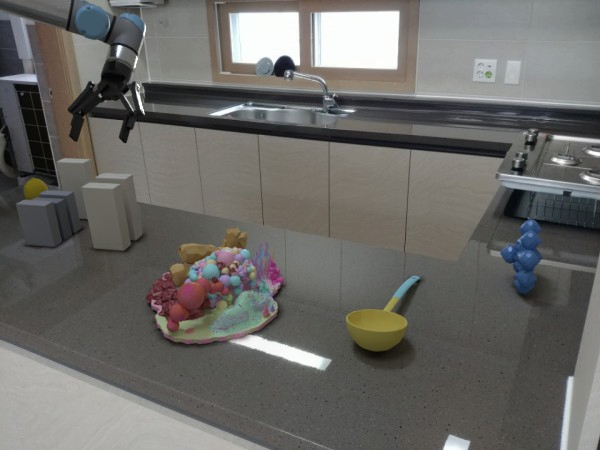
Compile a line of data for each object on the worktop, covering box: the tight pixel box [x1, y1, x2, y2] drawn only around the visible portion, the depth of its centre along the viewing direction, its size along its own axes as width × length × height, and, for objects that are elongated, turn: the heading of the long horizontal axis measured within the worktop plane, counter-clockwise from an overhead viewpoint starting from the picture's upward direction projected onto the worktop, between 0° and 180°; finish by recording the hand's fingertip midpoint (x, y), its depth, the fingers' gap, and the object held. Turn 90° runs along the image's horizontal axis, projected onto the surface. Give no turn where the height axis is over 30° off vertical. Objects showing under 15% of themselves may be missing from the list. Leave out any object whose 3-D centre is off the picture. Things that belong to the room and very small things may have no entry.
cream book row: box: [81, 172, 143, 252], centre depth 112 cm, size 8×7×14 cm
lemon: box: [23, 177, 49, 200], centre depth 133 cm, size 6×6×8 cm
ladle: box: [345, 275, 421, 352], centre depth 85 cm, size 9×26×6 cm, turn 153°
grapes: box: [499, 218, 544, 295], centre depth 91 cm, size 12×7×12 cm, turn 160°
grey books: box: [15, 189, 82, 248], centre depth 117 cm, size 10×7×9 cm
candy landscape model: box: [145, 227, 285, 345], centre depth 90 cm, size 25×24×9 cm
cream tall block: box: [55, 157, 96, 220], centre depth 126 cm, size 3×7×14 cm, turn 77°
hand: (97, 139), depth 132 cm, fingers open, 13 cm apart
